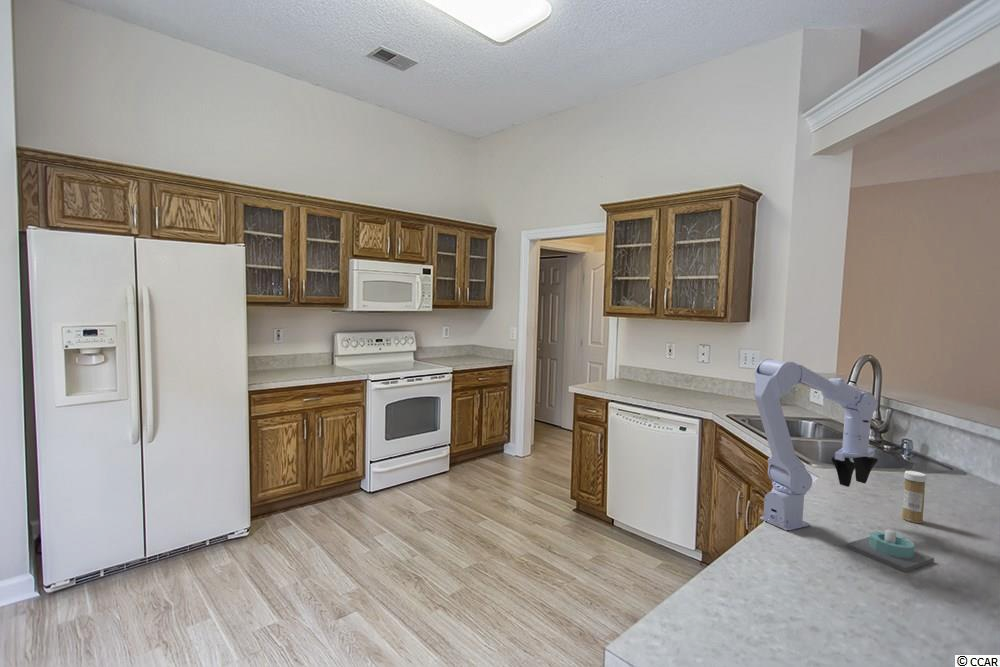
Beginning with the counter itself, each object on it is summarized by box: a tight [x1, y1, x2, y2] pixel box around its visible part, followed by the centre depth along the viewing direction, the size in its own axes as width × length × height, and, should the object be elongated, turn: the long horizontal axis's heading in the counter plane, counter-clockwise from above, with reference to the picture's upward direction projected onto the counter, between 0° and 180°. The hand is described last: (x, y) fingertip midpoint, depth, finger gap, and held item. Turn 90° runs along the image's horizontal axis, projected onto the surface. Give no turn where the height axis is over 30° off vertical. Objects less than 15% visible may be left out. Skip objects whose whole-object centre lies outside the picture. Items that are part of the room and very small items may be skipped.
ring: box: [869, 531, 915, 559], centre depth 114 cm, size 8×8×2 cm
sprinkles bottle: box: [901, 470, 927, 524], centre depth 134 cm, size 5×5×14 cm
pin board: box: [845, 529, 935, 573], centre depth 113 cm, size 12×12×6 cm
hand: (852, 483), depth 132 cm, fingers open, 7 cm apart
